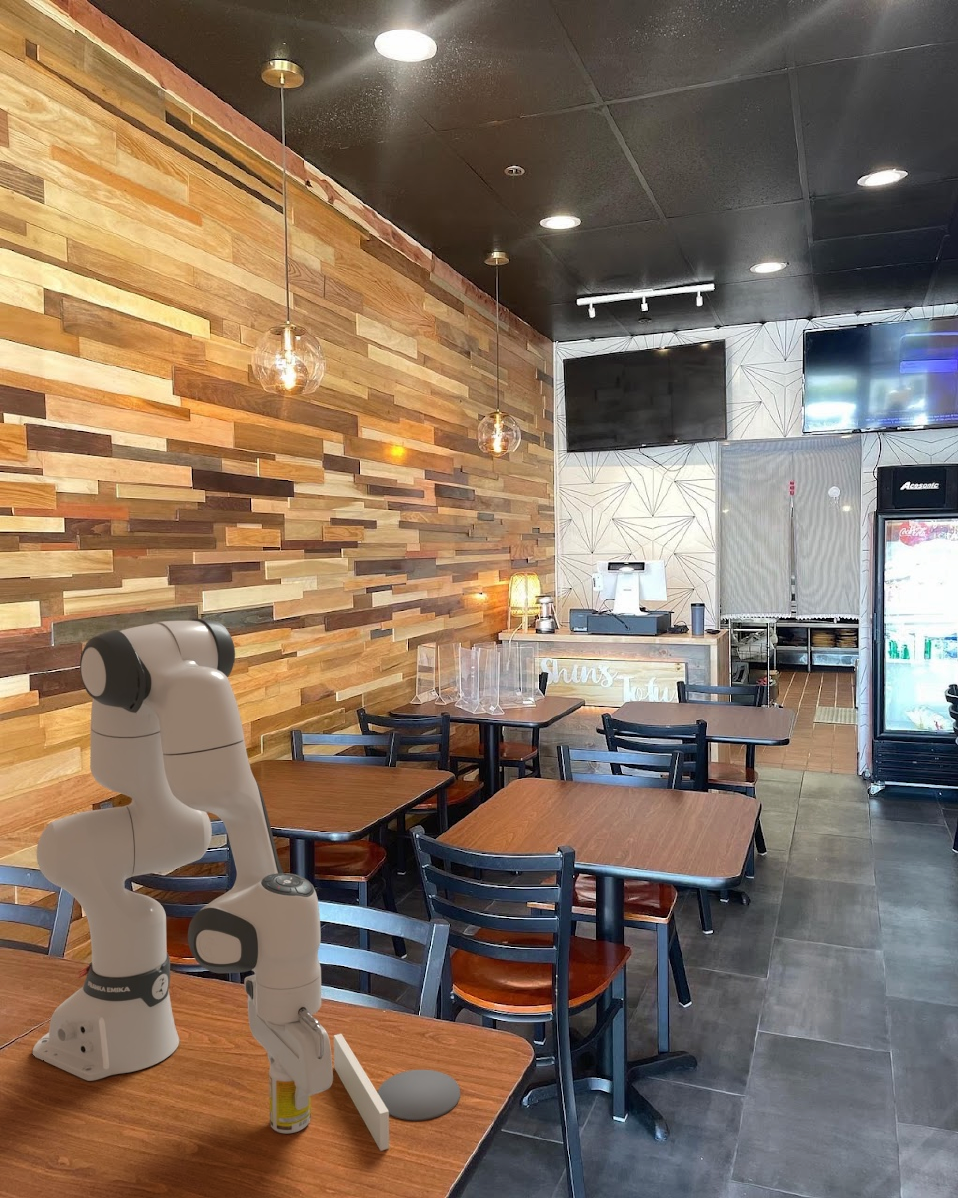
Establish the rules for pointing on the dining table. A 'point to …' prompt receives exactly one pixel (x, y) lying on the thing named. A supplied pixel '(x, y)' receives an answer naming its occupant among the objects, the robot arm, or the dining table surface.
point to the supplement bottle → (285, 1102)
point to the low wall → (362, 1092)
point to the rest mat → (419, 1094)
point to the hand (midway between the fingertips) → (289, 1094)
